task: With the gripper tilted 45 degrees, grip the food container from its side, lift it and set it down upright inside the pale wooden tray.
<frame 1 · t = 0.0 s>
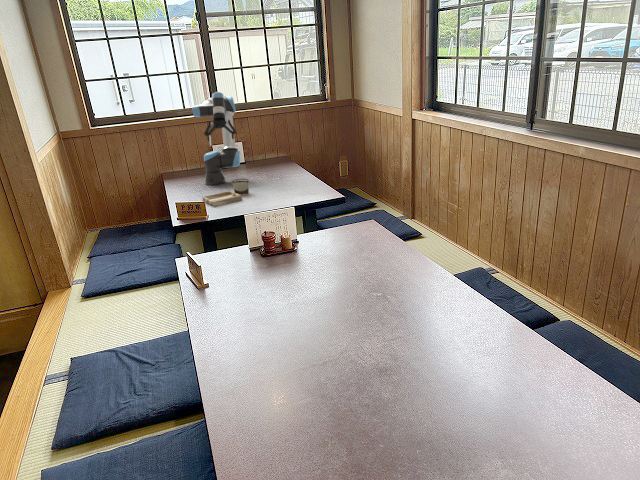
hand: (221, 144, 309), 36 cm above the table, tool tilted 35°, fingers open, 13 cm apart
tray: (222, 200, 317), on the table
food container: (242, 193, 331), on the table
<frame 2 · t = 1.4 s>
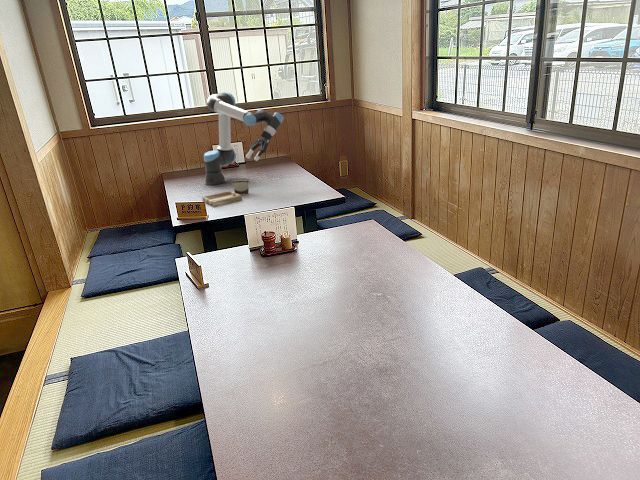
hand: (251, 158, 328), 22 cm above the table, tool tilted 45°, fingers open, 13 cm apart
nothing on the table moved.
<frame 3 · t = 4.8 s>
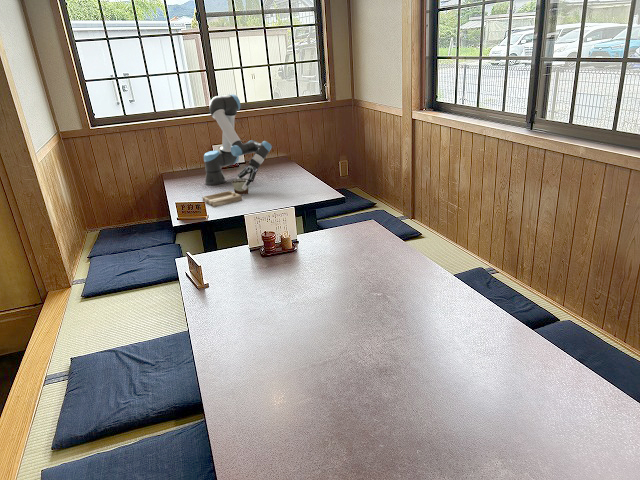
hand: (239, 187, 328), 5 cm above the table, tool tilted 45°, fingers open, 13 cm apart
food container: (242, 193, 331), on the table, touching gripper
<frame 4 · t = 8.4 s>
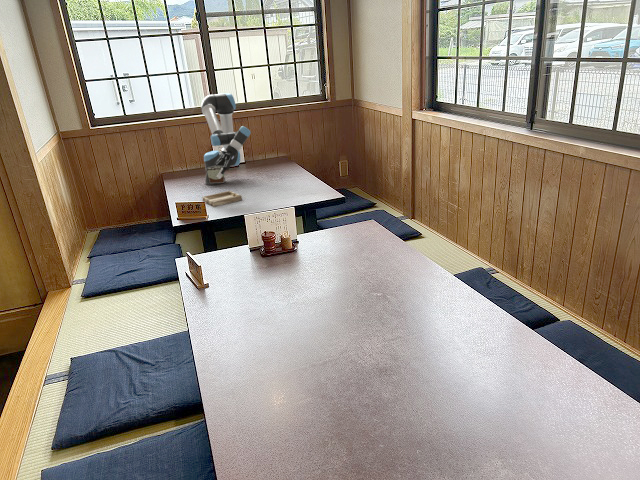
hand: (214, 176, 310), 17 cm above the table, tool tilted 45°, fingers closed on food container, 10 cm apart
food container: (218, 181, 314), point 13 cm above the table, touching gripper
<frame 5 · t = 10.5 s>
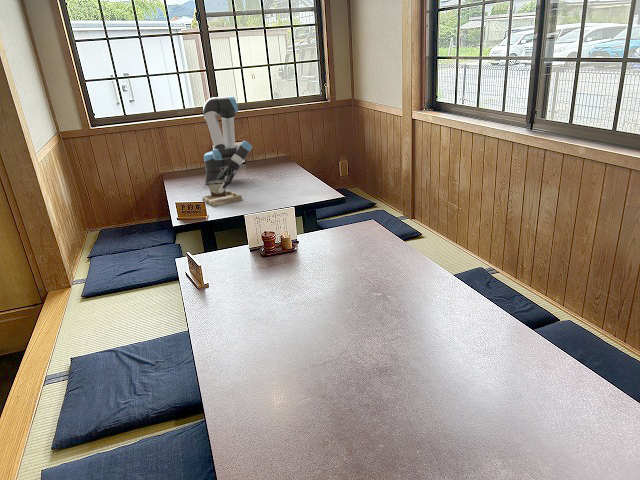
hand: (216, 190, 313), 7 cm above the table, tool tilted 45°, fingers closed on food container, 10 cm apart
food container: (220, 196, 317), point 3 cm above the table, touching gripper
when the fingers open (6 cm above the table, at t = 11.8 s): food container drops 1 cm, resting on tray.
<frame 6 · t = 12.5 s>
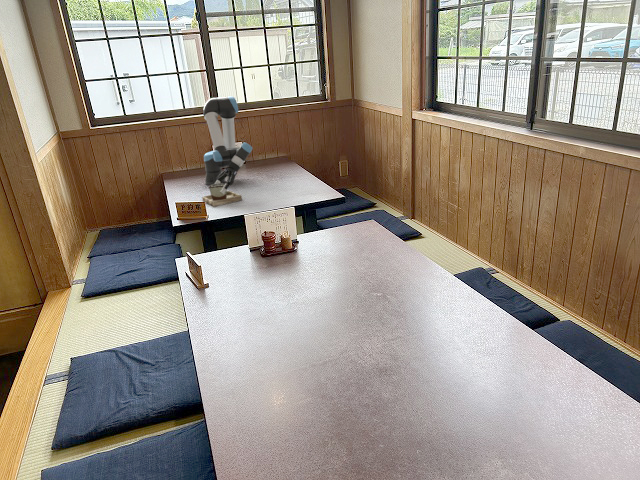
hand: (217, 190, 313), 7 cm above the table, tool tilted 45°, fingers open, 13 cm apart
food container: (220, 199, 318), point 1 cm above the table, touching tray
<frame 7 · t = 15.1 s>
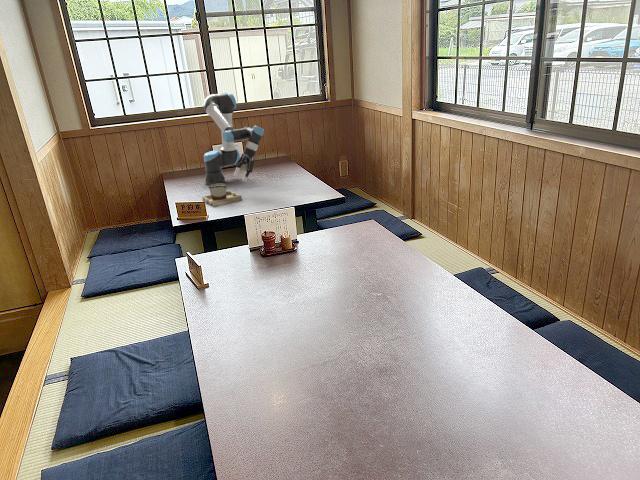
hand: (239, 178, 323), 11 cm above the table, tool tilted 30°, fingers open, 13 cm apart
nothing on the table moved.
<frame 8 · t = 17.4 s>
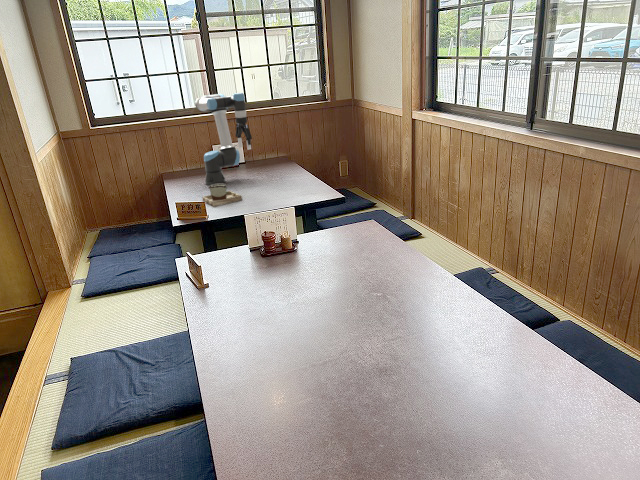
hand: (245, 148, 331), 29 cm above the table, tool pointing down, fingers open, 13 cm apart
nothing on the table moved.
at the end: food container inside the target area on the tray (1.5 cm from its centre), point 0.8 cm above the tray's base; food container tilted 0°; the gripper is holding nothing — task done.
